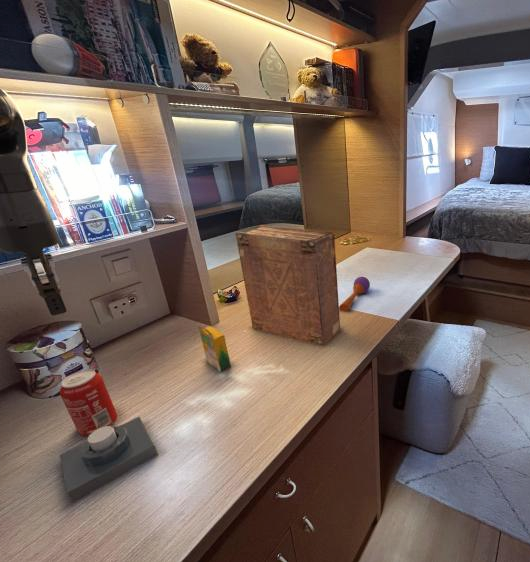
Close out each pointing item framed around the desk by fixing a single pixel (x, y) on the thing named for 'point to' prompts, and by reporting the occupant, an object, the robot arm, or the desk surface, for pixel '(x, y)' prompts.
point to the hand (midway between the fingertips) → (59, 312)
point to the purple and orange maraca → (356, 292)
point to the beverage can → (87, 401)
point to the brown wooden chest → (291, 282)
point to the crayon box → (215, 348)
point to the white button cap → (102, 438)
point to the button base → (106, 459)
